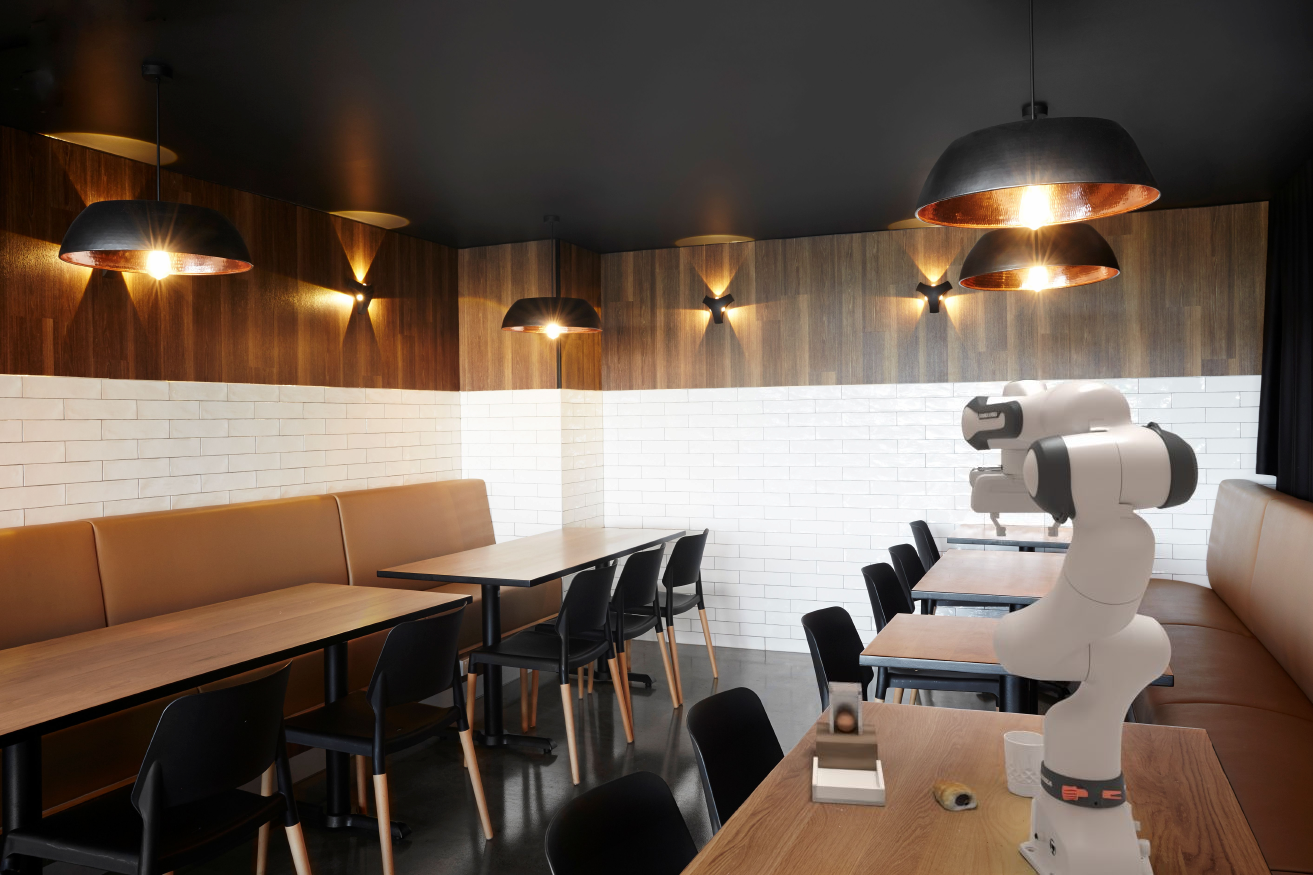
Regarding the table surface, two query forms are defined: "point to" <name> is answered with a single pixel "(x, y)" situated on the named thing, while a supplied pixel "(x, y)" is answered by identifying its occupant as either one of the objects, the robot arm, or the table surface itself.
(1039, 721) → the table surface
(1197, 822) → the table surface
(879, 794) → the tray
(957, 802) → the pastry
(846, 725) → the ball
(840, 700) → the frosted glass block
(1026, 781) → the white cup
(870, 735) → the step block
